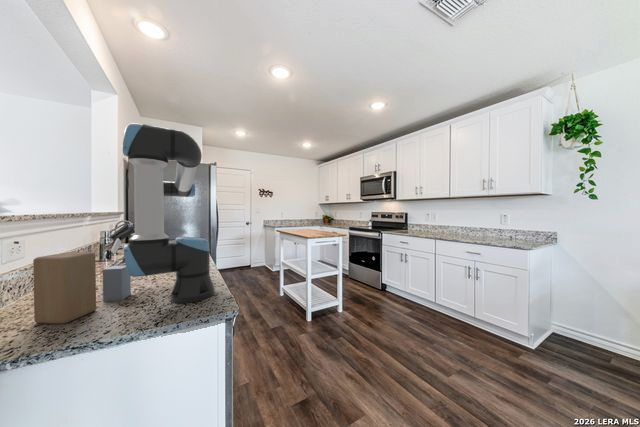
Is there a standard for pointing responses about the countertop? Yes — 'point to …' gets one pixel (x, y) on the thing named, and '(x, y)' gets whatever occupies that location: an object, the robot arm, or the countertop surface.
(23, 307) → the countertop surface
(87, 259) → the wooden block
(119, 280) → the slate block
